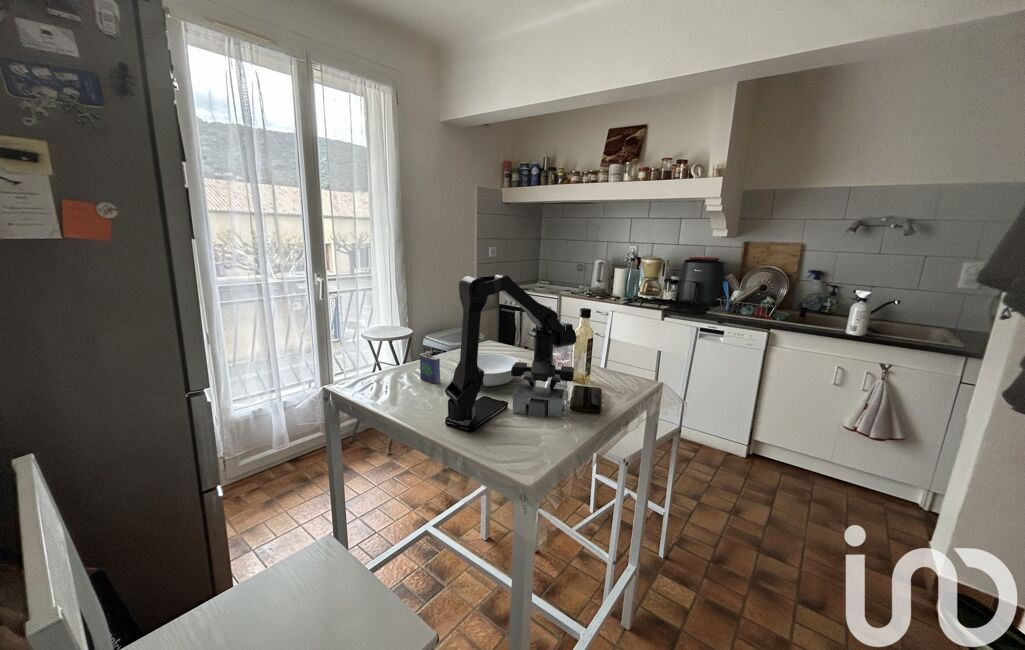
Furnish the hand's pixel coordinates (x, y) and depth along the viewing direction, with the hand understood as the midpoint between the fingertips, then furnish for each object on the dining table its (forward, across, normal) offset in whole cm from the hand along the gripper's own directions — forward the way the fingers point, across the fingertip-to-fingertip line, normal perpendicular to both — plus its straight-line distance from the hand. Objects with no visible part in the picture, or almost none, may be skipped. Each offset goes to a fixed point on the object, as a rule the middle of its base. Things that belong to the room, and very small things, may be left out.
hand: (541, 397), depth 126 cm
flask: (+1, -40, +6) cm, 41 cm away
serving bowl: (+1, -20, +12) cm, 23 cm away
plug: (+1, 0, -4) cm, 5 cm away
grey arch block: (+1, 0, -7) cm, 7 cm away
